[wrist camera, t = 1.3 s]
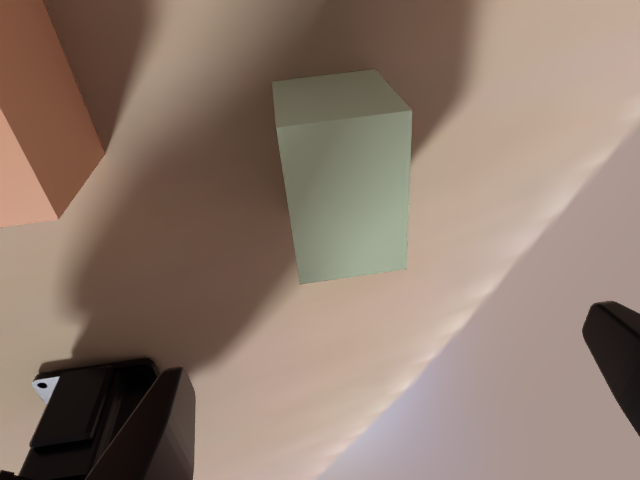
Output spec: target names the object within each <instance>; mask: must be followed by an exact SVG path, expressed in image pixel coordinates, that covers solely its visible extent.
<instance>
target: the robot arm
mask: <svg viewBox="0 0 640 480" xmlns="http://www.w3.org/2000/svg"><path fill="white" fill-rule="evenodd" d="M582 333H583V337H584V340H585V342H586V344H587V345H588V348H589V349H590V351H591V353H592V355H593V357H594V359H595V361H596V363H597V365H598V367H599V369H600V370H601V373H602V374H603V376H604V378H605V380H606V382H607V384H608V386H609V388H610V390H611V392H612V393H613V395H614V397H615V399H616V401H617V402H618V404H619V405H620V407H621V409H622V410H623V412H624V413H625V415H626V417H627V418H628V419H629V421H630V423H631V424H632V426H633V427H634V429H635V430H636V432H637V433H638V435H639V436H640V314H639V313H637V312H635V311H633V310H631V309H629V308H627V307H625V306H623V305H621V304H619V303H617V302H614V301H605V302H598V303H594V304H593V305H592V306H591V307H590V310H589V312H588V315H587V317H586V320H585V323H584V326H583V329H582ZM32 386H33V388H34V389H35V390H36V391H37V393H38V394H39V395H40V397H41V398H42V399H43V400H44V402H45V403H46V404H47V406H46V408H45V410H44V412H43V414H42V417H41V419H40V421H39V423H38V426H37V428H36V430H35V432H34V434H33V437H32V439H31V441H30V445H29V446H30V447H31V448H30V450H29V453H28V455H27V457H26V459H25V461H24V464H23V466H22V468H21V470H20V473H19V475H18V476H16V475H14V473H13V472H9V471H4V470H1V471H0V480H193V472H194V444H195V402H196V400H195V391H194V388H193V386H192V383H191V381H190V379H189V376H188V374H187V372H186V370H185V368H184V367H175V368H168V369H165V370H164V371H162V372H161V374H160V373H159V371H158V369H157V367H156V365H155V363H154V361H152V360H151V359H147V358H143V359H136V360H129V361H122V362H116V363H109V364H102V365H96V366H89V367H82V368H76V369H69V370H62V371H55V372H49V373H42V374H38V375H37V376H36V377H35V379H34V381H33V383H32Z"/></svg>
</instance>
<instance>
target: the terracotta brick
mask: <svg viewBox="0 0 640 480" xmlns="http://www.w3.org/2000/svg"><path fill="white" fill-rule="evenodd" d="M104 155H105V152H104V150H103V147H102V145H101V142H100V140H99V138H98V135H97V133H96V130H95V128H94V125H93V123H92V120H91V118H90V115H89V113H88V110H87V108H86V106H85V103H84V101H83V98H82V96H81V93H80V91H79V88H78V86H77V83H76V81H75V78H74V76H73V73H72V71H71V69H70V66H69V64H68V61H67V59H66V56H65V54H64V51H63V49H62V46H61V44H60V41H59V39H58V37H57V34H56V32H55V29H54V27H53V24H52V22H51V19H50V17H49V14H48V12H47V9H46V7H45V4H44V2H43V0H0V227H6V226H14V225H21V224H29V223H36V222H44V221H51V220H59V218H60V217H61V215H62V214H63V213H64V211H65V210H66V208H67V207H68V206H69V204H70V203H71V201H72V200H73V199H74V197H75V196H76V194H77V193H78V192H79V190H80V189H81V187H82V186H83V185H84V183H85V182H86V180H87V179H88V178H89V176H90V175H91V173H92V172H93V171H94V169H95V168H96V166H97V165H98V163H99V162H100V161H101V159H102V158H103V156H104Z"/></svg>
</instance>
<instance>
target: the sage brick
mask: <svg viewBox="0 0 640 480" xmlns="http://www.w3.org/2000/svg"><path fill="white" fill-rule="evenodd" d="M272 90H273V101H274V112H275V123H276V131H277V138H278V145H279V151H280V158H281V164H282V171H283V178H284V184H285V191H286V197H287V204H288V210H289V217H290V224H291V230H292V237H293V243H294V250H295V257H296V263H297V270H298V276H299V283H300V284H307V283H314V282H321V281H328V280H335V279H342V278H349V277H356V276H363V275H370V274H377V273H384V272H391V271H398V270H405V269H406V266H407V239H408V213H409V187H410V160H411V134H412V109H411V108H410V107H409V106H408V105H407V104H406V103H405V102H404V100H403V99H402V98H401V97H400V96H399V95H398V94H397V93H396V92H395V90H394V89H393V88H392V87H391V86H390V85H389V84H388V83H387V82H386V80H385V79H384V78H383V77H382V76H381V75H380V74H379V73H378V71H377V70H376V69H371V70H363V71H355V72H346V73H338V74H330V75H322V76H314V77H305V78H297V79H289V80H281V81H273V82H272Z"/></svg>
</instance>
